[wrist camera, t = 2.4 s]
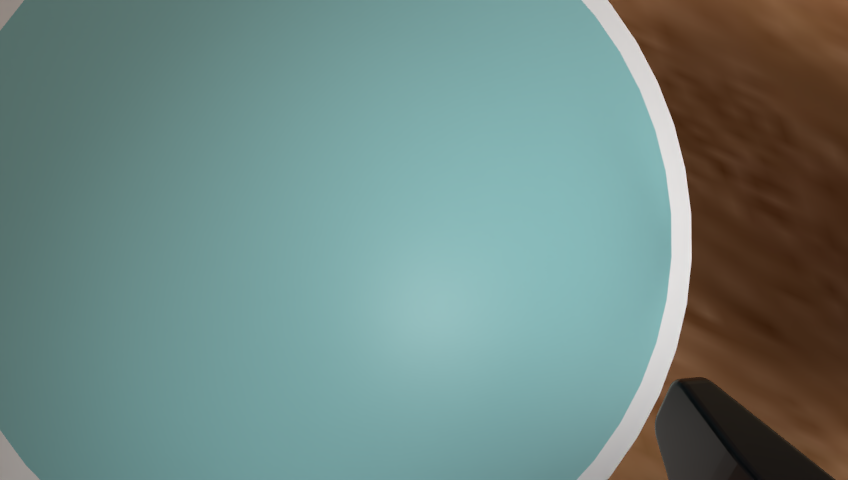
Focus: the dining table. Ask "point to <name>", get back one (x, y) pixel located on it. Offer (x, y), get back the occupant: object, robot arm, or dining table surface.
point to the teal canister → (332, 240)
